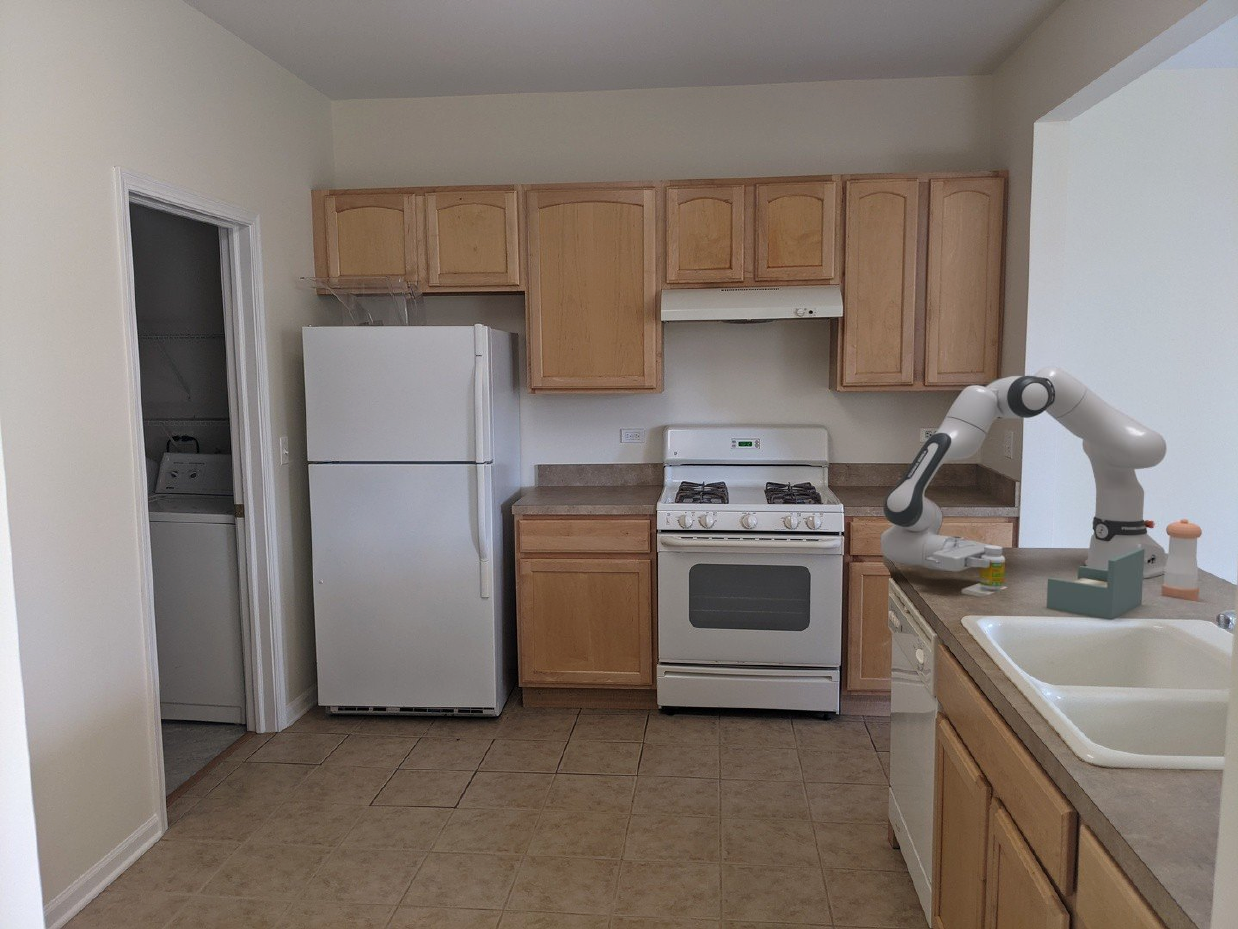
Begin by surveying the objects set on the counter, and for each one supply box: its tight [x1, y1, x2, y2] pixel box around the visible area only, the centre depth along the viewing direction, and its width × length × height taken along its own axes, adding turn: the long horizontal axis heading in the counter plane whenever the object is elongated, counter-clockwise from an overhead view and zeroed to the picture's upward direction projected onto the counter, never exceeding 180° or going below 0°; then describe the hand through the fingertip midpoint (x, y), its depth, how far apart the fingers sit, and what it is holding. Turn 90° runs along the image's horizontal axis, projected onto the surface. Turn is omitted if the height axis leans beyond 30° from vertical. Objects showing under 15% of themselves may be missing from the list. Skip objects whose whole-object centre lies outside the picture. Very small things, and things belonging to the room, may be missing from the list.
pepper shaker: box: [1161, 518, 1203, 603], centre depth 205 cm, size 7×7×19 cm
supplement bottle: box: [979, 544, 1006, 589], centre depth 213 cm, size 5×5×10 cm
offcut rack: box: [1046, 548, 1145, 621], centre depth 196 cm, size 13×18×14 cm
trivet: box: [961, 582, 1008, 598], centre depth 213 cm, size 10×10×1 cm
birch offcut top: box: [1073, 578, 1107, 587], centre depth 196 cm, size 9×11×2 cm
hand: (996, 561), depth 212 cm, fingers closed on supplement bottle, 5 cm apart
